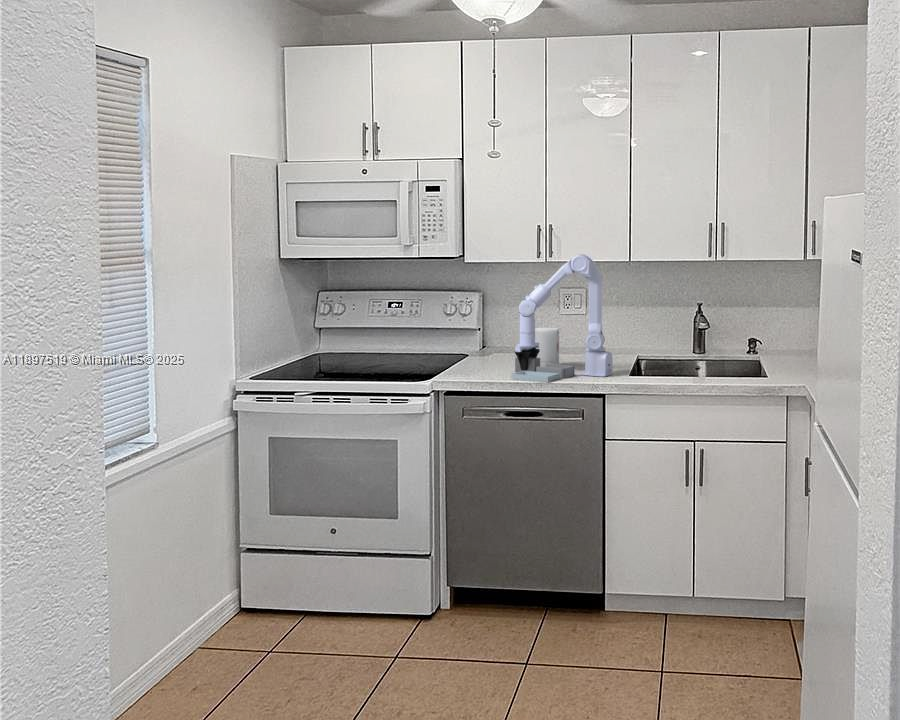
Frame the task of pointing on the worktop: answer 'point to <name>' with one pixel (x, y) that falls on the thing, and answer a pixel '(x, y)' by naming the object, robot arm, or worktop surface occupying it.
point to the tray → (535, 376)
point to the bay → (557, 370)
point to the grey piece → (548, 345)
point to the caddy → (532, 364)
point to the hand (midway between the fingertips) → (527, 369)
